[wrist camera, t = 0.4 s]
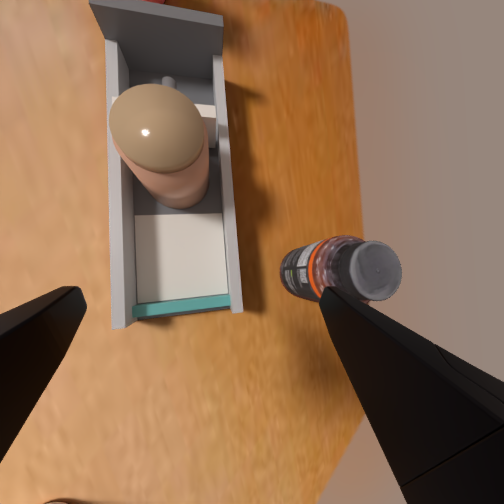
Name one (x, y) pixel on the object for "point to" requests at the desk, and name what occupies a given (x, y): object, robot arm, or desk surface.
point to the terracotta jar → (162, 143)
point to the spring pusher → (205, 111)
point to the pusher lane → (136, 195)
